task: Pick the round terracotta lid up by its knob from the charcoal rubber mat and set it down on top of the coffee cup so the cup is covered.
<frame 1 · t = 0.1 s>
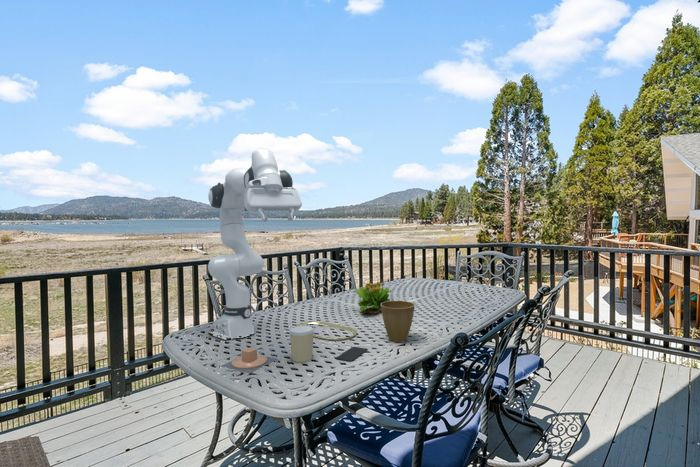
hand: (278, 220, 130), 54 cm above the table, tool tilted 30°, fingers open, 8 cm apart
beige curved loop: (324, 333, 181), on the table
plant pot: (398, 340, 165), on the table
phone: (352, 355, 149), on the table
coffee cup: (302, 360, 145), on the table
potted flower: (372, 311, 218), on the table
mat: (249, 363, 143), on the table
lid: (249, 362, 143), resting on mat
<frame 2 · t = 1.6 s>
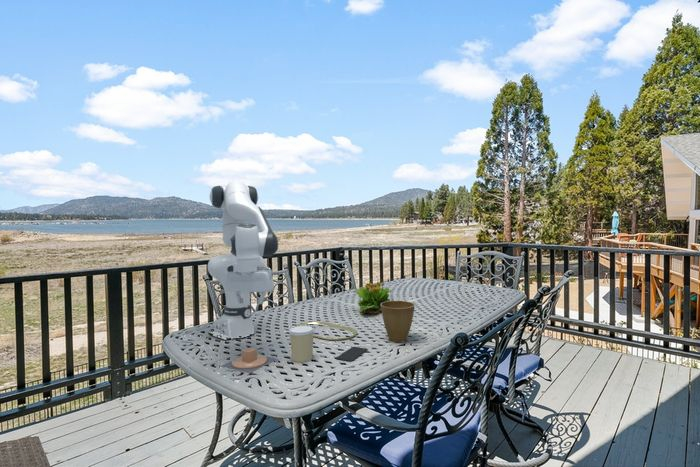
hand: (250, 303, 140), 23 cm above the table, tool pointing down, fingers open, 8 cm apart
nothing on the table moved.
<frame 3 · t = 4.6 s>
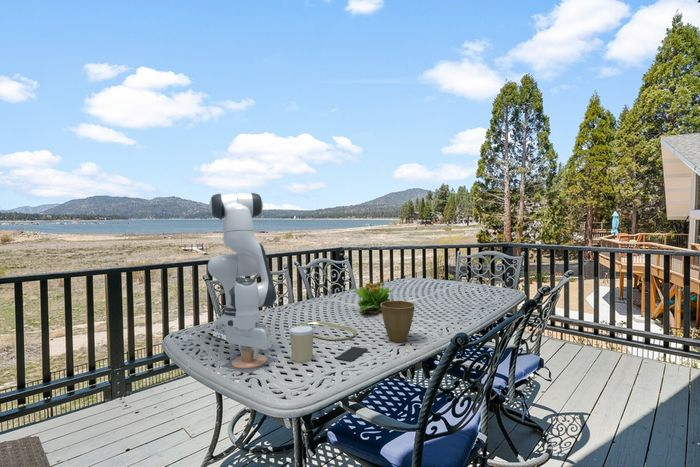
hand: (249, 357, 143), 2 cm above the table, tool pointing down, fingers closed on lid, 4 cm apart
lid: (249, 362, 143), resting on mat, touching gripper
everything else where it was.
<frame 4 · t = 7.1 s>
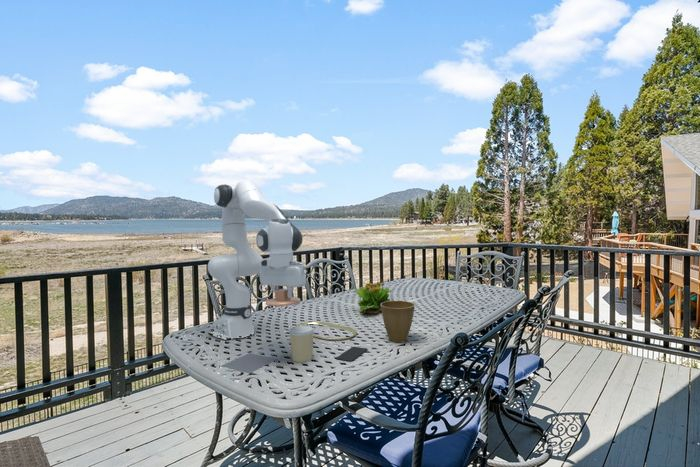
hand: (283, 297, 143), 25 cm above the table, tool pointing down, fingers closed on lid, 4 cm apart
lid: (283, 302, 143), point 23 cm above the table, touching gripper
everything else where it was.
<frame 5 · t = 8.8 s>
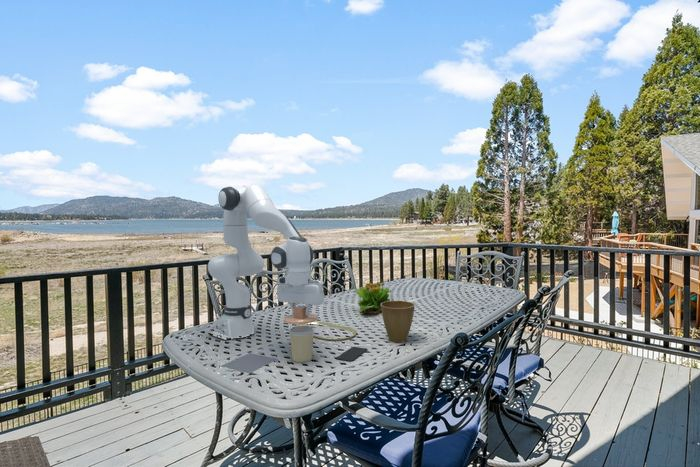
hand: (300, 314, 145), 18 cm above the table, tool pointing down, fingers closed on lid, 4 cm apart
lid: (301, 319, 145), point 16 cm above the table, touching gripper
everything else where it was.
when the fingers open (15 cm above the table, at t = 10.0 s): lid drops 2 cm, resting on coffee cup.
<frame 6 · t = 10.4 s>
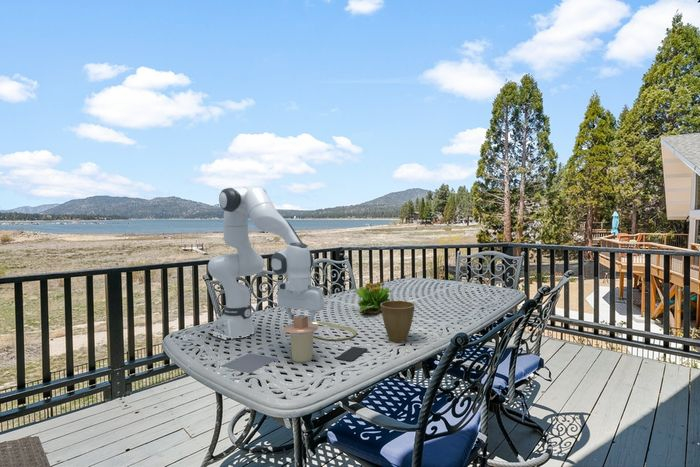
hand: (301, 320, 145), 15 cm above the table, tool pointing down, fingers open, 8 cm apart
coffee cup: (302, 360, 145), on the table, touching lid
lid: (301, 329, 145), point 12 cm above the table, touching coffee cup
everything else where it was.
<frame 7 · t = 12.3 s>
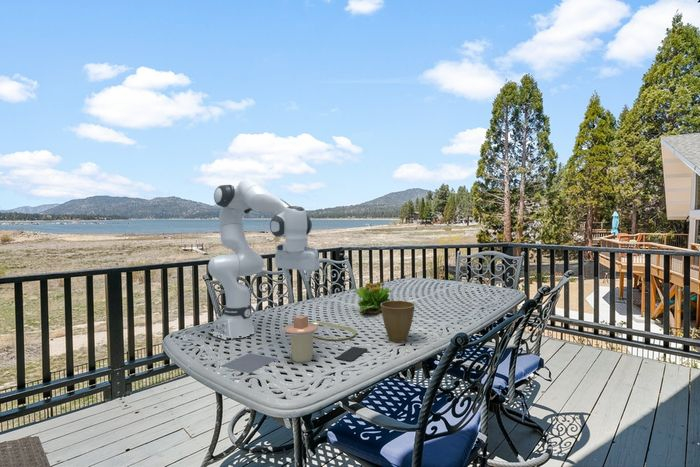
hand: (297, 280, 152), 30 cm above the table, tool pointing down, fingers open, 8 cm apart
nothing on the table moved.
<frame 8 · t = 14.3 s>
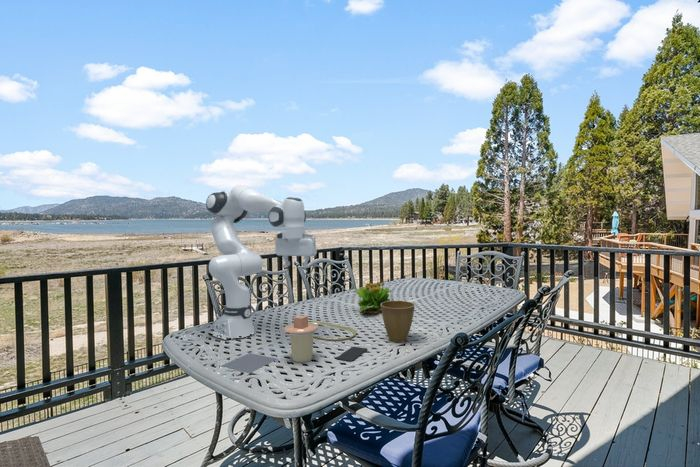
hand: (296, 266, 164), 34 cm above the table, tool pointing down, fingers open, 8 cm apart
nothing on the table moved.
at the end: lid 0.1 cm from the coffee cup (horizontally); lid point 12.0 cm above the table; lid tilted 0° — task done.
